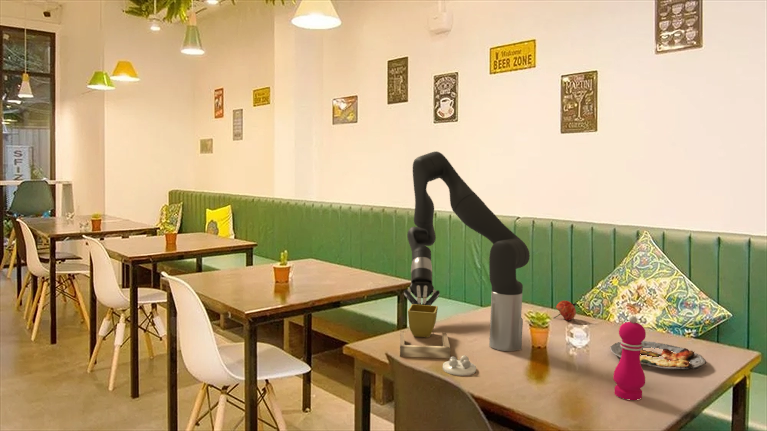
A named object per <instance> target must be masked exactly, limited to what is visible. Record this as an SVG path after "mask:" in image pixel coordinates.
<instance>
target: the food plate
mask: <svg viewBox="0 0 767 431" xmlns="http://www.w3.org/2000/svg"><path fill="white" fill-rule="evenodd" d="M641 343H642V344H643V346H642V348H651V347H652V348H654V349H655V348H659V349H663V351H662V353H659V352H655V351H653V352H652V351H646V350H643V349H642V350H640V354H641V355H647V356H652V357H646V356H641V355H640V363H641V365H646V366H648V367H649V368H651V367H656V368H659V369H660V368H661V369H665V370H669V371H670V370H675V371H676V370H679V371H680V370H681V371H682V370H694V369H695V370H696V369H699V368H700V367H702V366H704V365H706V364H707V360H706V359H705V358H704V356H702V355H701V354H699V353H695V350H694V351H693V350H690V349H688V348H685V347H681V346H674V345H670V344H668V343H667V344H666V343H660V342H656V341H645V340H643V341H642V342H641ZM620 344H621V342H620V341H619V342H615V343H614V344H612V345H610V346H609V349H610V351H611V353H612V354H614V355H615V356H617V357H619V358H621V355H622V347H621V346H620ZM671 351H673V352H676V353H673V352H671ZM658 353H659V354H658ZM659 356H662V357H663V358H664V359H658V358H653V357H659ZM669 360H670V361H669ZM689 362H690V363H689Z"/></svg>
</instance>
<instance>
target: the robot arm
mask: <svg viewBox="0 0 767 431" xmlns="http://www.w3.org/2000/svg"><path fill="white" fill-rule="evenodd" d="M412 179H413V180H412V181H413V182H412V183H413V191H414V201H415V202H414V213H413V214H414V215H413V223H414V225H415V226H411V227H410V228H409V229H408V231H407V241H408V244H409V247H410V250H411V266H410V268H411V269H410V285H409V288H408V289H404V290H403V295H404V297H405V298H406V299H407V301H408V302H410V304H411V305H412V304H417V305H430V306H433V305H432V304H434V303H435V302H436V301H437V299H438V298H439V297H440V292H441V291H440V290H436V289H435V286H434V285H433V266H432V250H431V249H430V246H433V245H434V244H435V242H436V238H437V237H436V232H435V228H434V213H435V204H434V201H433V200H432V197H431V196H430V195H429V193H428V191H427V187H428V183H429V182H432V181H435V180H439V179H440V180H442V181H443V182H444V184H445V185H446V186H447V187H448V192H449V203H450V207H451V210H452V211H453V214H455V215H456V217H457V218H458V219H459V220H460V221H461V222H462V223H463V224H464V225H465V226H466V227H469V228H470V229H471V230H472V231H474V232H476V233H477V234H479V235H481V236H483V237H484V238H486V239H487V240H488V241H490V242H491V243H492V246H491V249H489V250H490V251H489V262H488V263H489V264H488V265H489V269H488V270H489V275H488V276H489V282H490V285H491V294H490V295H491V297H490V298H491V300H490V301H491V302H490V320H489V321H490V323H489V338H488V339H489V347H490V348H492V349H494V350H497V351H503V352H504V351H505V352H513V351H519V350H521V351H522V349H523V348H522V345H523V343H522V342H523V324H524V320H523V317H522V312H523V311H522V310H523V289H524V287H523V286H524V285H523V283H522V282H520V281H518V279H517V269H520V268H523V267H525V266H526V265H527V264H528V263H529V262H530V256H531V255H530V250H529V248H528V246H527V244H526V243H525V242H524V241H523V240H522V239H521V238H520V237H519V236H518V235H516V233H514V232H513V231H511V229H509V228H508V226H506V225H505V224H504V223H503V222H502V221H501V220H500V219H499V218H498V217H497V215H496V214H495V213H494V212H493V211H492V210H491V209H490V208H489V207H488V206H487V204H485V202H484V201H483V200H482V199H481V198H480V197H479V196H478V194H477V193H476V192H474V190H473V189H472V188H471V187H470V186H469V185H468V183H466V182H465V180H464V179H463V178H462V177H461V176H460V175H459V174H458V172H457V171H456V169H455V168H454V167H453V165H452V164H451V162H450V161H449V160H448V158H446V156H445V155H444V154H443V153H441V152H439V151H432V152H427V153H425V154H422V155H420V156H418V157H416V158H415V159H414V160H413V163H412ZM430 296H431V297H430ZM428 298H429V299H428ZM427 299H428V300H427Z"/></svg>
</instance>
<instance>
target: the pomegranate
mask: <svg viewBox="0 0 767 431" xmlns="http://www.w3.org/2000/svg"><path fill="white" fill-rule="evenodd" d="M576 305H577V306H578V303H577V302H575V303H572V302H571V301H568V300H566V299H565V300H560V301H559V302H558V303H557V304H556V306H555V308H556V309H557V310H558V311H559V314H557V315H556V316H554V317H553V319H556V318H557V317H559V316H562V317H563V319H564V320H565V321H571V320H573V319H574V318H575V317H576V314H577V310H576V307H575V306H576Z"/></svg>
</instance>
